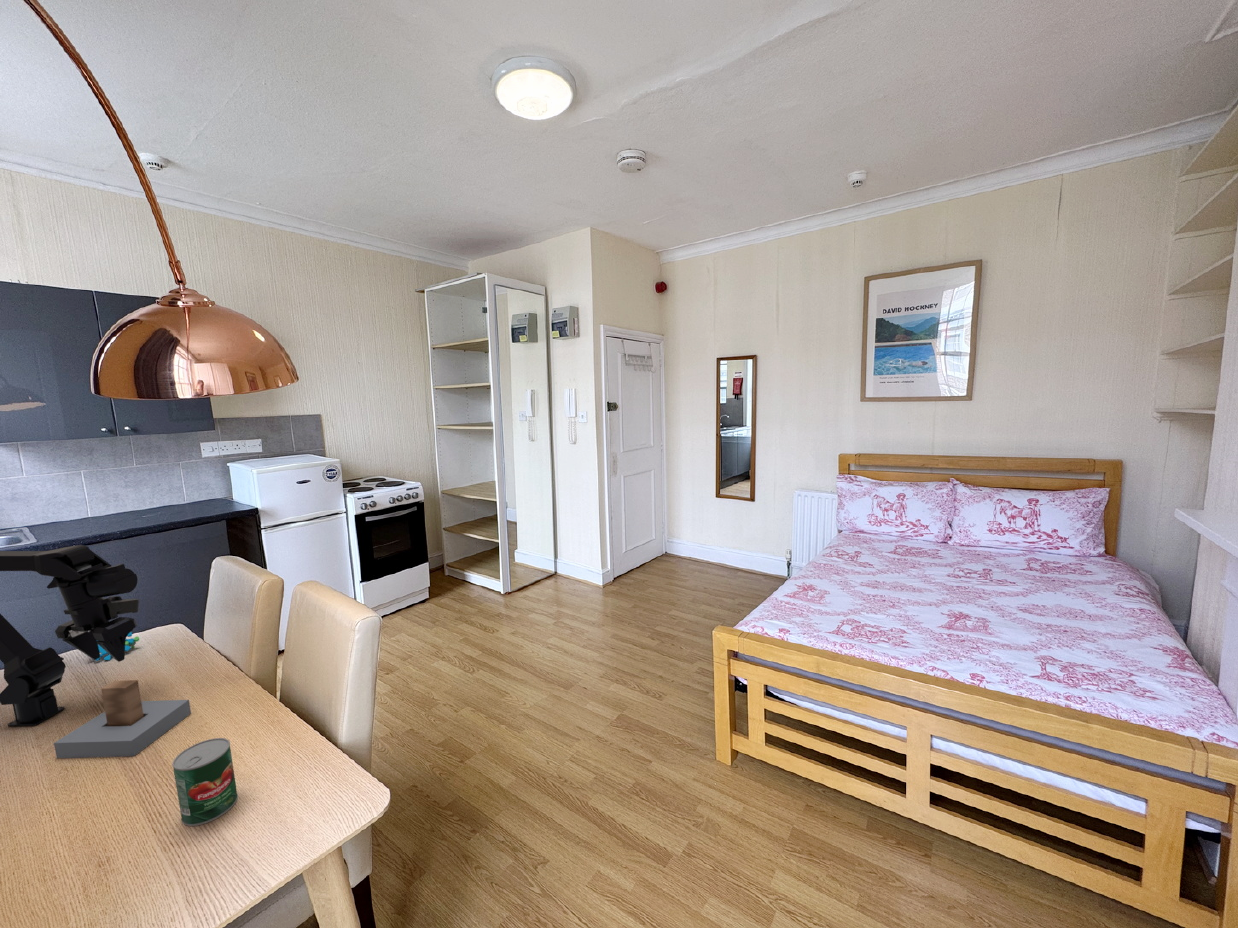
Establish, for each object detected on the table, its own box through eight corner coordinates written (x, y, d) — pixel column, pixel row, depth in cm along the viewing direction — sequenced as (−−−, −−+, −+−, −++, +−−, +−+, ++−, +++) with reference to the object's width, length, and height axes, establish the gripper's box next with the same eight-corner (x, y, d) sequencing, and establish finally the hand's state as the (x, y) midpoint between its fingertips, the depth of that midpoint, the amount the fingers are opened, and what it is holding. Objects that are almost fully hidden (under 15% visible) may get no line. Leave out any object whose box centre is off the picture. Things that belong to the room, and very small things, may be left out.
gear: (81, 662, 138) (88, 628, 143) (84, 670, 142) (91, 637, 147) (135, 654, 145) (140, 622, 150) (137, 662, 148) (142, 631, 154)
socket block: (56, 758, 103) (53, 742, 102) (122, 715, 117) (120, 701, 116) (134, 756, 103) (131, 740, 103) (191, 713, 117) (188, 699, 116)
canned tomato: (208, 790, 93) (199, 737, 92) (248, 790, 93) (241, 737, 92) (168, 826, 86) (159, 769, 84) (213, 826, 85) (204, 769, 84)
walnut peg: (110, 739, 108) (101, 688, 107) (123, 730, 111) (114, 680, 110) (133, 738, 109) (124, 687, 107) (146, 729, 111) (137, 680, 110)
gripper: (151, 583, 119) (173, 641, 122) (102, 583, 125) (125, 638, 128) (92, 607, 109) (118, 669, 112) (42, 606, 114) (68, 665, 118)
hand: (109, 659), depth 118 cm, fingers open, 9 cm apart
